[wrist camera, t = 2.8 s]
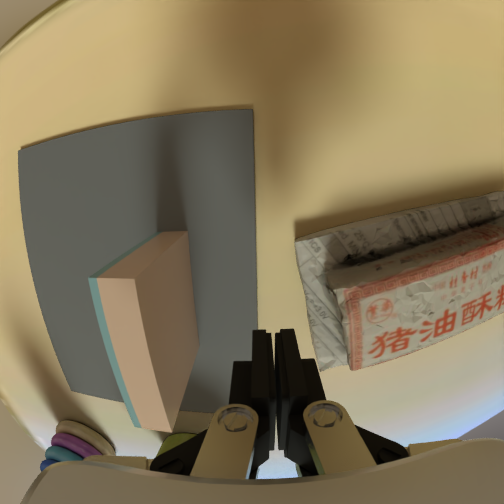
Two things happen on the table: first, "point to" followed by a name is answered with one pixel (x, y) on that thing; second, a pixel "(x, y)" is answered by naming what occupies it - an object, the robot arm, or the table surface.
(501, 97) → the table surface
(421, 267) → the packaged product
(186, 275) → the tile
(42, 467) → the stacking toy
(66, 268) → the mat
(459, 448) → the robot arm
